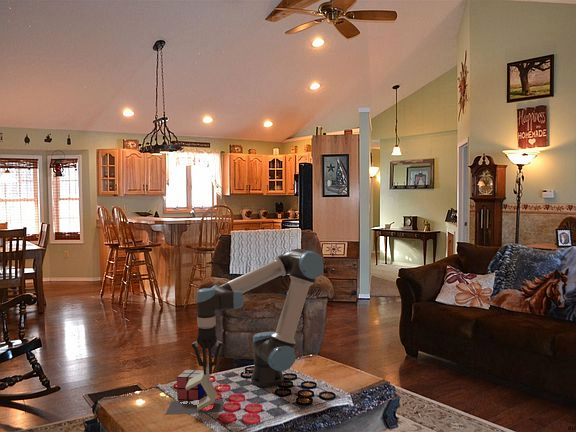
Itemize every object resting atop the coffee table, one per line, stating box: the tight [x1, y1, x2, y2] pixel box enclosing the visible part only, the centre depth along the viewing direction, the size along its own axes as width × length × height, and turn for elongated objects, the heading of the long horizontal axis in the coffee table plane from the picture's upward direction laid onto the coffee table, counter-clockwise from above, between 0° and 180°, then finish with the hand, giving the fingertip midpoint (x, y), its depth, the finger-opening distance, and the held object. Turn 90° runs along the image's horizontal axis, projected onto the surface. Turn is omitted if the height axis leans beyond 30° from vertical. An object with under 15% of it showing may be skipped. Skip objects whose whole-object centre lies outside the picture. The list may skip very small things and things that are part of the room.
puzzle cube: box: [176, 369, 207, 401], centre depth 229 cm, size 10×10×10 cm
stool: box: [185, 372, 218, 411], centre depth 217 cm, size 8×9×11 cm
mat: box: [164, 398, 226, 416], centre depth 218 cm, size 23×13×1 cm, turn 91°
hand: (208, 381), depth 217 cm, fingers closed
